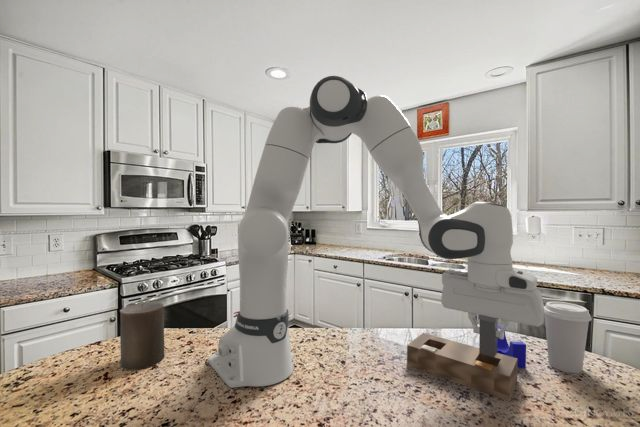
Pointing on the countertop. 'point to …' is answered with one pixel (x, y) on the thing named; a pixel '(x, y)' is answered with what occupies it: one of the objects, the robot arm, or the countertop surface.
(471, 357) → the socket block
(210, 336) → the countertop surface
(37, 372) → the countertop surface
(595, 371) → the countertop surface
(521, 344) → the cable clip
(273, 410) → the countertop surface
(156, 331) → the pillar candle
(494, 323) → the plug
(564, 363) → the coffee cup
